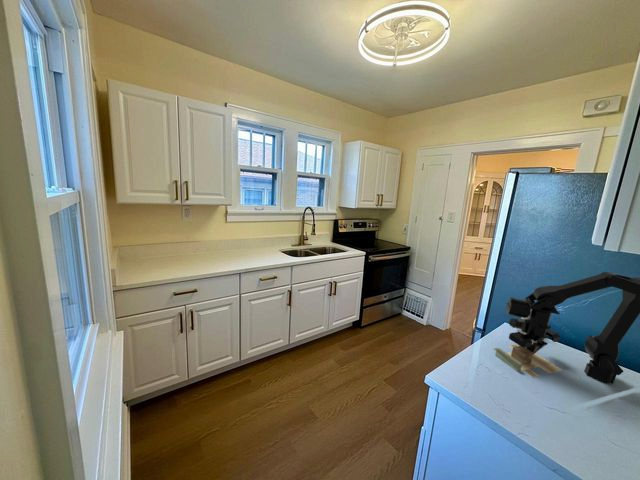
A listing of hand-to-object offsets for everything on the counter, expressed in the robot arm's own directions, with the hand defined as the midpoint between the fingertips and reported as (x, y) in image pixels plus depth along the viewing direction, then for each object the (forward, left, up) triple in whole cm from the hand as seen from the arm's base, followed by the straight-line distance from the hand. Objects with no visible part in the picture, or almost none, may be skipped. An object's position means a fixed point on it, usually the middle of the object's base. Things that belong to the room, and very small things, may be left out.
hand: (529, 355), depth 102 cm
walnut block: (+3, +3, -1) cm, 4 cm away
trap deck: (+1, +1, -2) cm, 3 cm away
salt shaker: (-2, -22, -3) cm, 22 cm away
